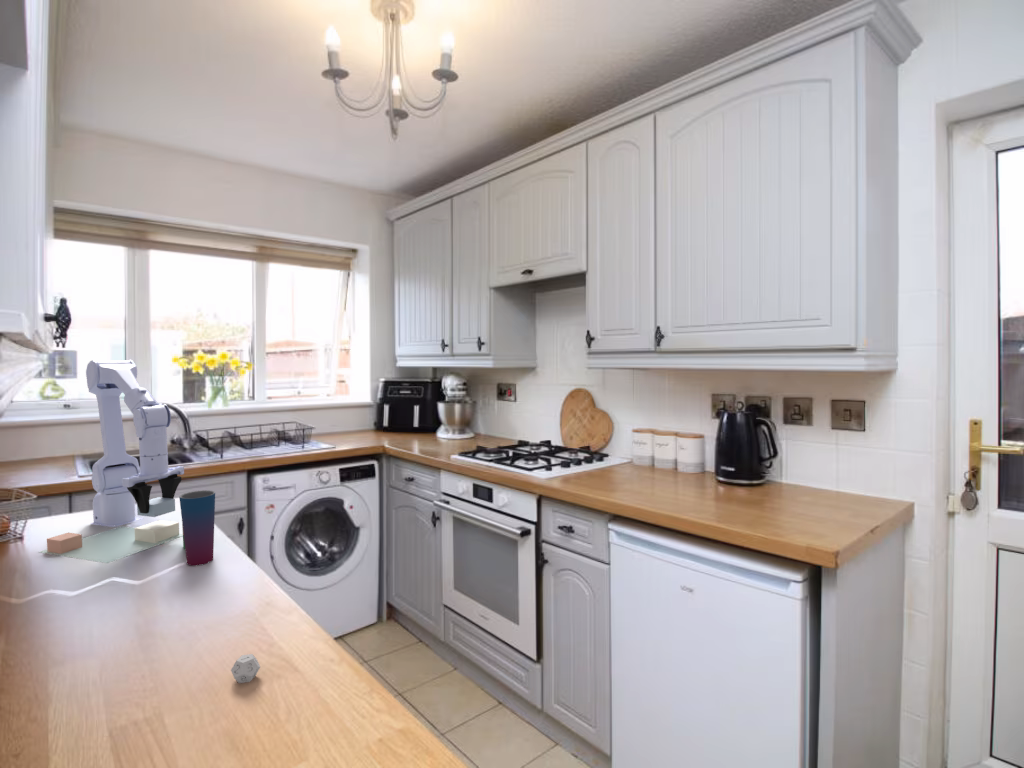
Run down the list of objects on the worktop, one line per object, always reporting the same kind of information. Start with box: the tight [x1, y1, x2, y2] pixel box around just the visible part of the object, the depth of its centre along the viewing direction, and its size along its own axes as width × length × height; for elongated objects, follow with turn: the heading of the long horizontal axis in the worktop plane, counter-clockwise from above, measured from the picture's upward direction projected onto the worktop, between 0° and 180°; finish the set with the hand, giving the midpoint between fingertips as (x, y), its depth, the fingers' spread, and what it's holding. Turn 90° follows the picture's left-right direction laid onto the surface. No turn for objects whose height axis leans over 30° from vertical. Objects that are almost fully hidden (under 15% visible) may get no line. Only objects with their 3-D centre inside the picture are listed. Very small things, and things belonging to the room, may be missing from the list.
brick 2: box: [136, 496, 176, 518], centre depth 131 cm, size 6×6×3 cm
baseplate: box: [39, 525, 183, 564], centre depth 128 cm, size 22×19×1 cm
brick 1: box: [46, 532, 83, 554], centre depth 124 cm, size 4×4×3 cm
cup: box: [179, 489, 216, 567], centre depth 118 cm, size 7×7×15 cm
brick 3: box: [133, 519, 180, 543], centre depth 132 cm, size 6×6×3 cm
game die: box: [230, 653, 261, 684], centre depth 75 cm, size 4×4×3 cm
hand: (156, 509), depth 132 cm, fingers closed on brick 2, 5 cm apart
